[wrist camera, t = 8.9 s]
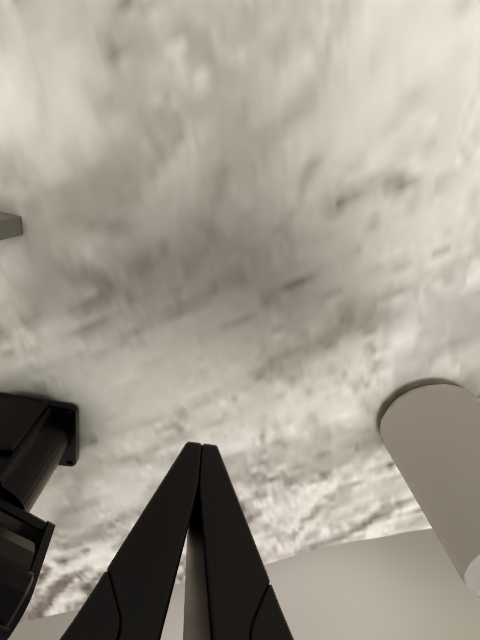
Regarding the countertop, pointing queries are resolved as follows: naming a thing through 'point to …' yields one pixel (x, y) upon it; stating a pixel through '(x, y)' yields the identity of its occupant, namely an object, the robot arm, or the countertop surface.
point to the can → (441, 466)
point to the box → (9, 226)
